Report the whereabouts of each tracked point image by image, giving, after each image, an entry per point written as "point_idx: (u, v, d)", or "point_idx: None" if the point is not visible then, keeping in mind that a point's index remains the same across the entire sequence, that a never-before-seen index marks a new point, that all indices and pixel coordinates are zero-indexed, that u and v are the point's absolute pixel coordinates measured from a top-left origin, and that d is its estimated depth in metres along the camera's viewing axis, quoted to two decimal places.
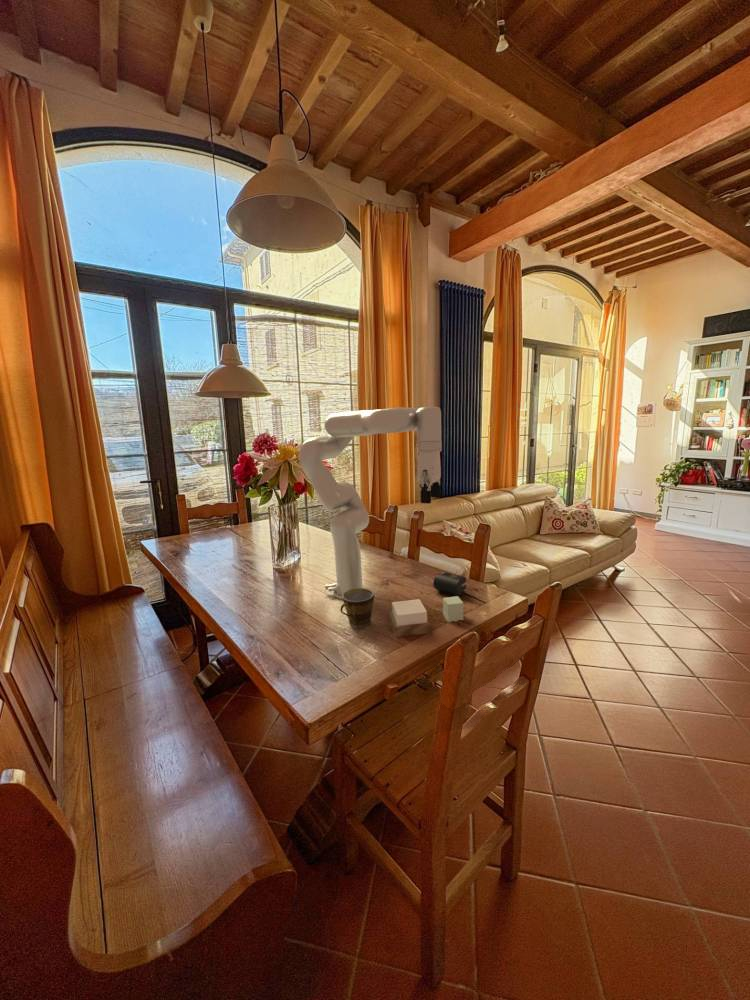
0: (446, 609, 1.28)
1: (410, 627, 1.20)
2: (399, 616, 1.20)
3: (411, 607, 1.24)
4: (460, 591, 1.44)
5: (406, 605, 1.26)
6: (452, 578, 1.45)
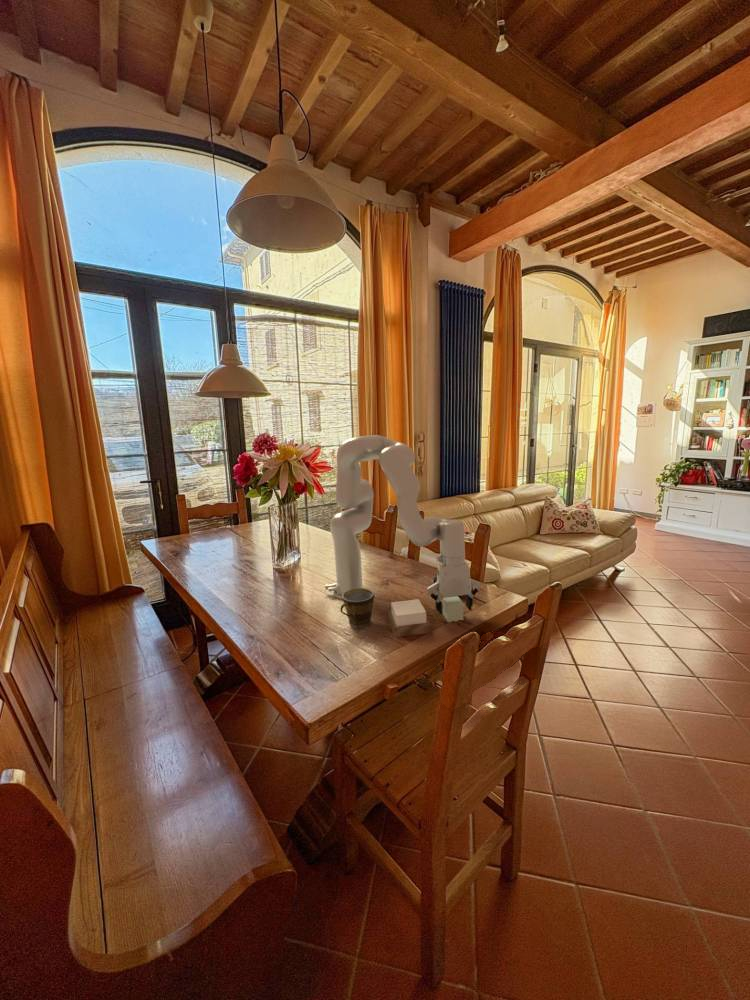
0: (446, 609, 1.28)
1: (410, 627, 1.20)
2: (399, 616, 1.20)
3: (410, 607, 1.24)
4: None
5: (406, 605, 1.26)
6: None
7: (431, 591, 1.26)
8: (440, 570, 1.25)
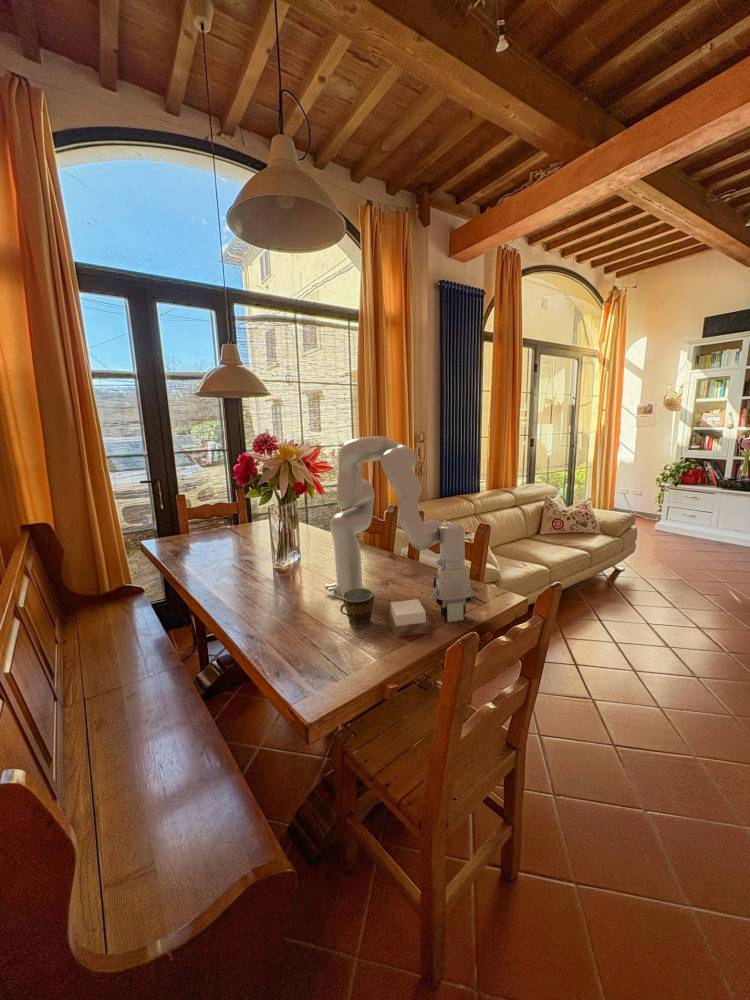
0: None
1: (410, 627, 1.20)
2: (398, 616, 1.20)
3: (410, 607, 1.24)
4: None
5: (405, 605, 1.26)
6: None
7: (435, 598, 1.27)
8: (440, 573, 1.25)
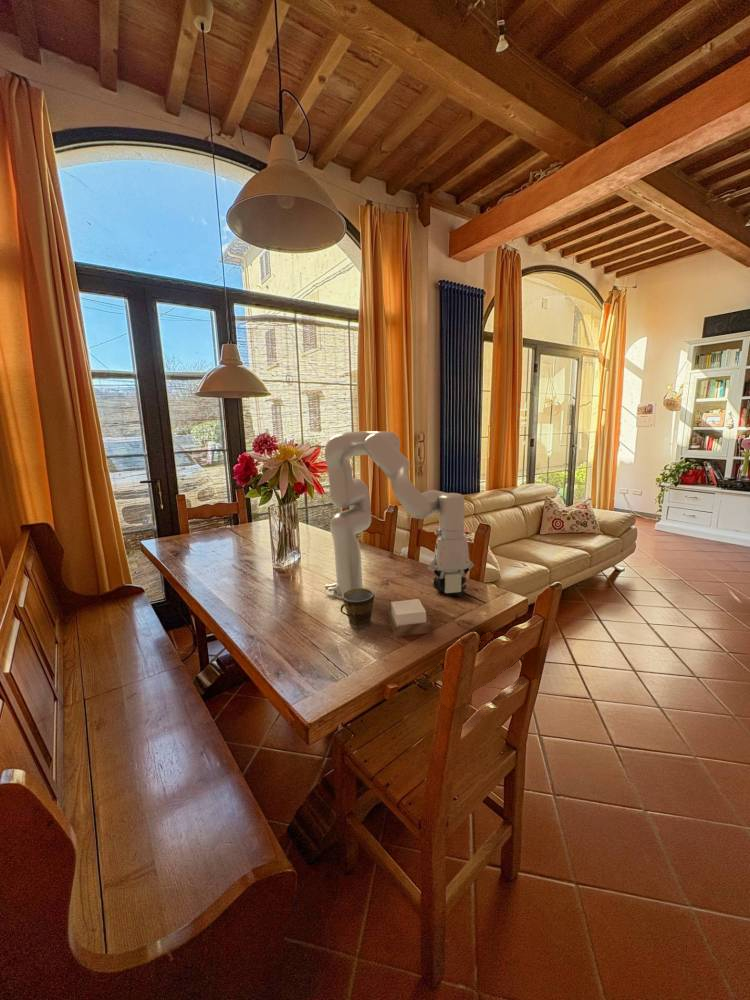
0: None
1: (410, 627, 1.20)
2: (399, 615, 1.20)
3: (410, 607, 1.25)
4: None
5: (405, 605, 1.26)
6: None
7: (433, 568, 1.26)
8: (438, 543, 1.23)
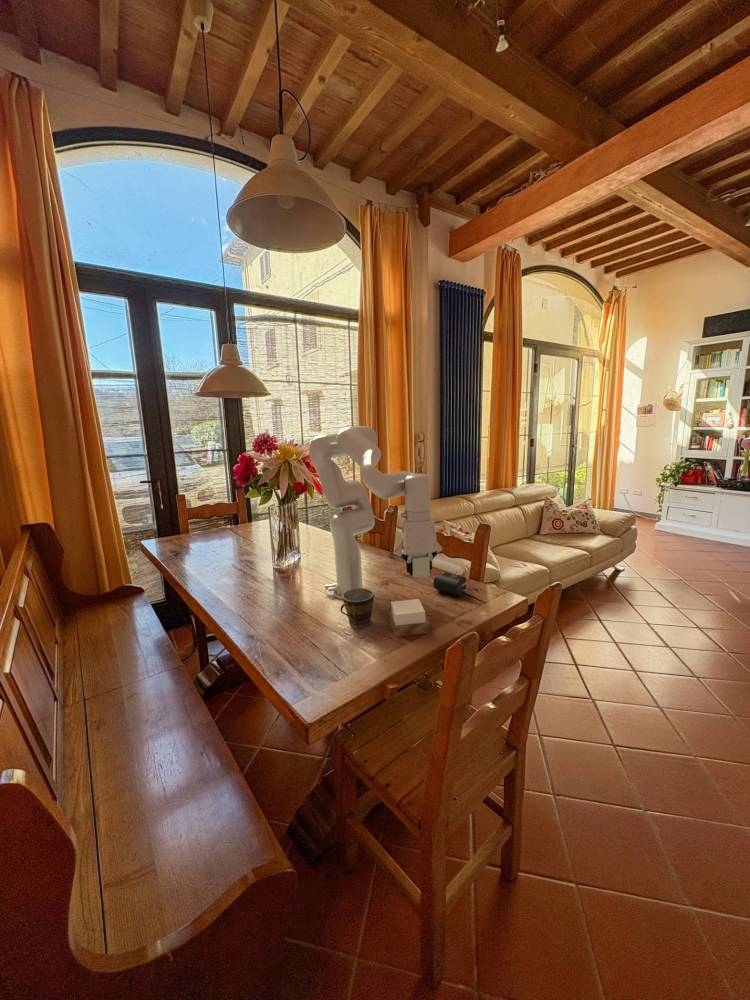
0: None
1: (410, 627, 1.20)
2: (397, 615, 1.20)
3: (410, 607, 1.25)
4: (460, 591, 1.44)
5: (405, 605, 1.26)
6: (452, 578, 1.45)
7: (400, 552, 1.21)
8: (404, 526, 1.19)
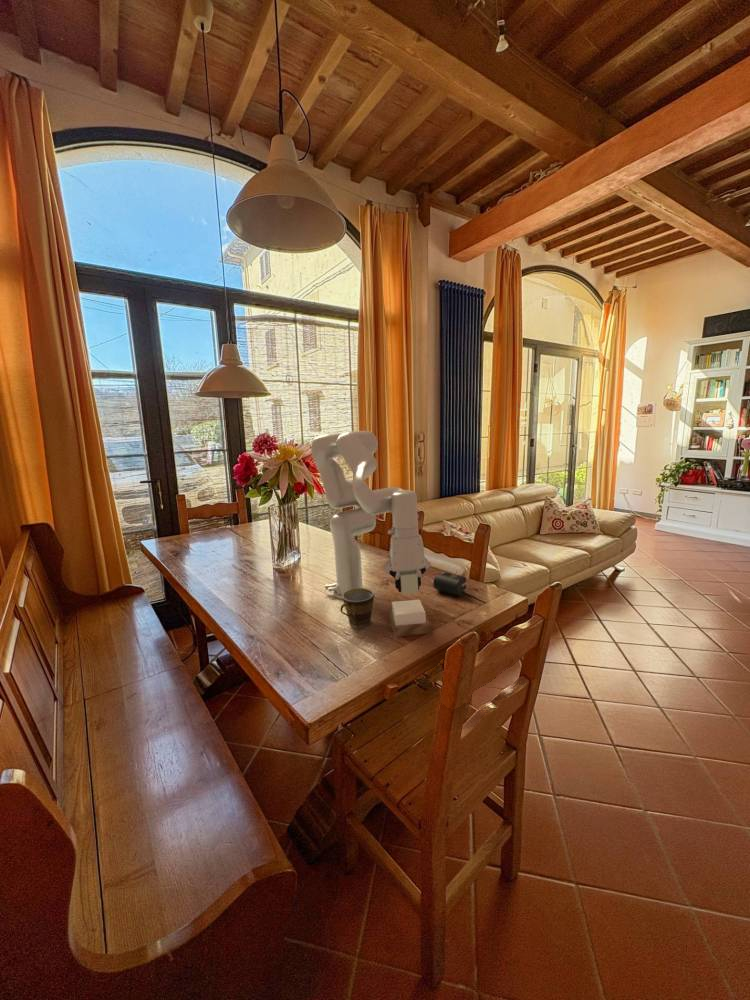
0: None
1: (410, 627, 1.20)
2: (398, 615, 1.20)
3: (410, 607, 1.25)
4: (460, 591, 1.44)
5: (406, 605, 1.26)
6: (452, 578, 1.45)
7: (388, 569, 1.21)
8: (392, 543, 1.19)
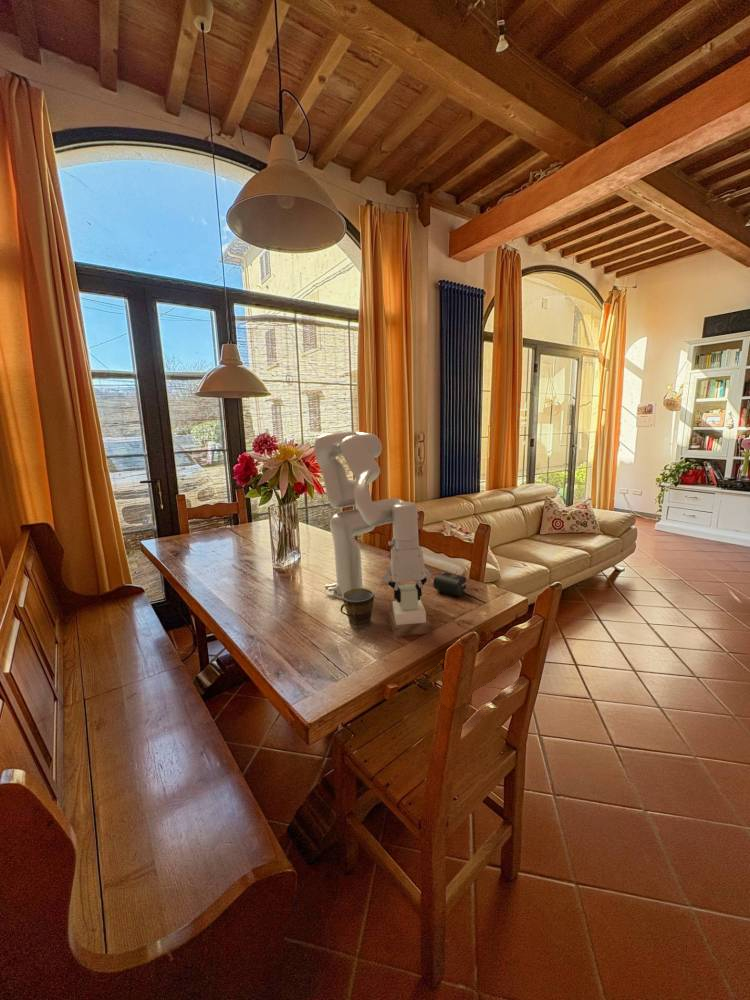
0: (400, 597, 1.22)
1: (410, 627, 1.20)
2: (398, 615, 1.21)
3: None
4: (460, 591, 1.44)
5: None
6: (452, 578, 1.45)
7: (387, 579, 1.22)
8: (392, 554, 1.19)
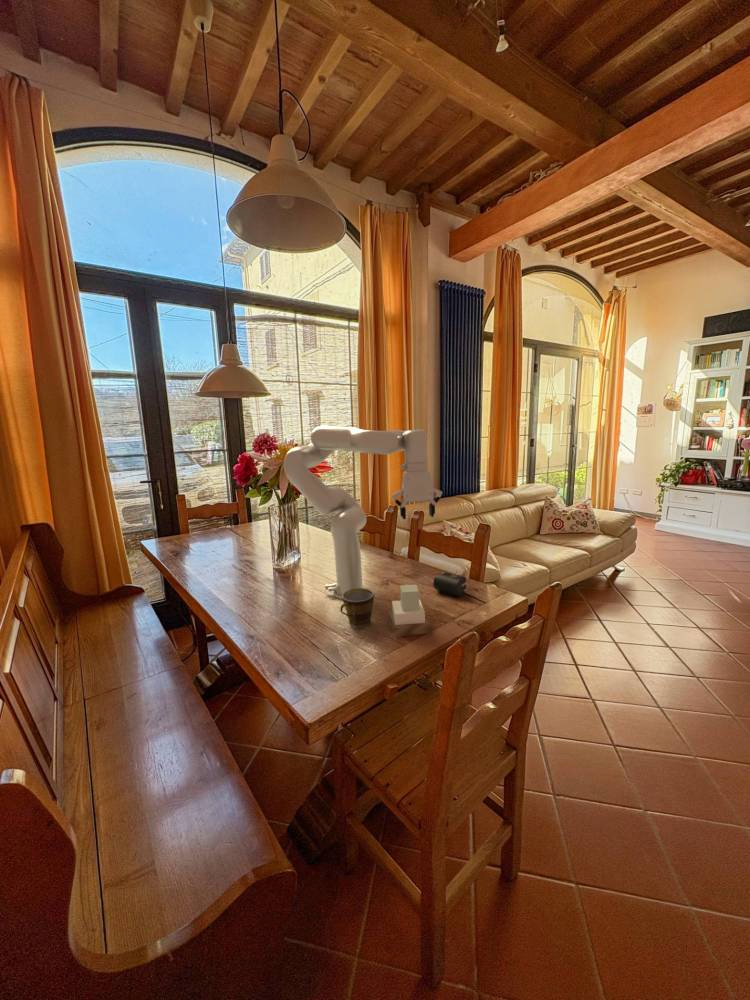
0: (402, 597, 1.23)
1: (410, 627, 1.20)
2: (397, 615, 1.21)
3: None
4: (460, 591, 1.44)
5: None
6: (452, 578, 1.45)
7: (396, 497, 1.35)
8: (404, 476, 1.33)
